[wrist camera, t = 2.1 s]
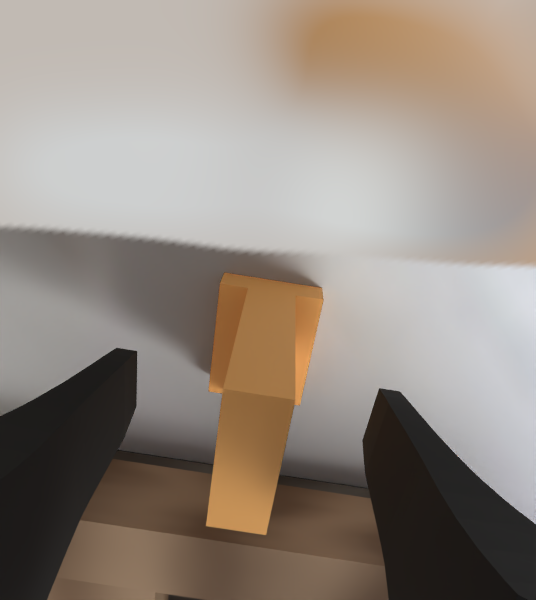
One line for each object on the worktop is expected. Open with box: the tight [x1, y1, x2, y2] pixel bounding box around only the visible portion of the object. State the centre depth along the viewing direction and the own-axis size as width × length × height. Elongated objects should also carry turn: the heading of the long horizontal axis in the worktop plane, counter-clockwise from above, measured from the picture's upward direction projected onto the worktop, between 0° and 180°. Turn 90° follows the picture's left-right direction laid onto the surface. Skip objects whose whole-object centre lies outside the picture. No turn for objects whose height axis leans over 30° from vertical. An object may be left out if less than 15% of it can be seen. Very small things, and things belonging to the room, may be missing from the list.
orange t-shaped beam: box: [206, 273, 323, 535], centre depth 13 cm, size 4×4×6 cm
